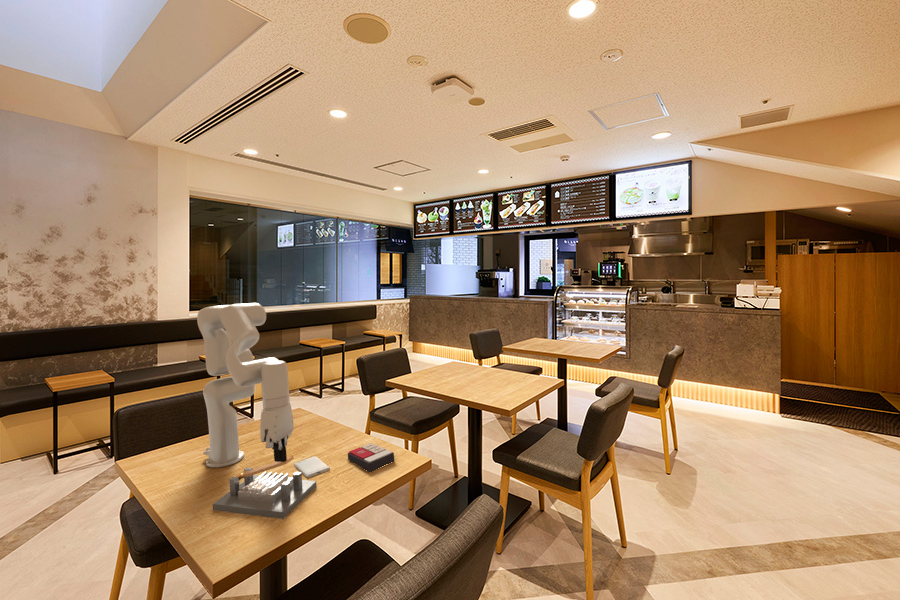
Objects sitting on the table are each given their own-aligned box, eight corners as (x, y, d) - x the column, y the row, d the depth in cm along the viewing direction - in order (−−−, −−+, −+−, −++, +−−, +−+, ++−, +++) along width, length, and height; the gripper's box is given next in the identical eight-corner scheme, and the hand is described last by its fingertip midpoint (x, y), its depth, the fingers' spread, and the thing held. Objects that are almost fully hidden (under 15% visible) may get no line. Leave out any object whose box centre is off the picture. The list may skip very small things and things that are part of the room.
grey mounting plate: (212, 510, 115) (212, 503, 114) (253, 480, 131) (253, 475, 131) (283, 519, 109) (283, 512, 109) (316, 487, 126) (316, 481, 126)
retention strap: (235, 481, 120) (234, 477, 120) (244, 476, 124) (242, 471, 124) (287, 465, 116) (285, 460, 116) (294, 459, 119) (292, 454, 119)
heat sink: (227, 497, 117) (226, 481, 117) (250, 480, 127) (249, 465, 127) (284, 504, 113) (283, 487, 113) (304, 486, 123) (303, 470, 122)
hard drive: (294, 463, 141) (307, 475, 132) (315, 455, 146) (329, 466, 137) (294, 467, 141) (307, 479, 132) (316, 459, 147) (330, 471, 137)
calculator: (371, 441, 152) (394, 450, 142) (372, 452, 153) (395, 462, 142) (346, 450, 145) (369, 461, 134) (347, 462, 145) (369, 473, 134)
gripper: (281, 394, 125) (285, 449, 126) (248, 409, 111) (252, 471, 111) (301, 394, 124) (305, 450, 124) (270, 409, 109) (275, 473, 110)
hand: (280, 460), depth 118 cm, fingers closed
